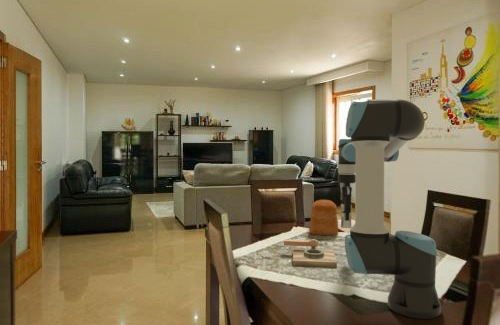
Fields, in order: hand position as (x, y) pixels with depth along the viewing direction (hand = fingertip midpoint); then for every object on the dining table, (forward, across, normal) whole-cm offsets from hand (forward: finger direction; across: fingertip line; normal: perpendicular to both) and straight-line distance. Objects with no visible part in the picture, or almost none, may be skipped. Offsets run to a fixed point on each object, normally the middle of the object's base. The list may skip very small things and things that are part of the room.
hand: (346, 226), depth 168 cm
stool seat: (+14, -4, +14) cm, 20 cm away
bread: (+14, +53, +6) cm, 55 cm away
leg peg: (0, 0, 0) cm, 0 cm away
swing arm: (+10, +3, +20) cm, 22 cm away
